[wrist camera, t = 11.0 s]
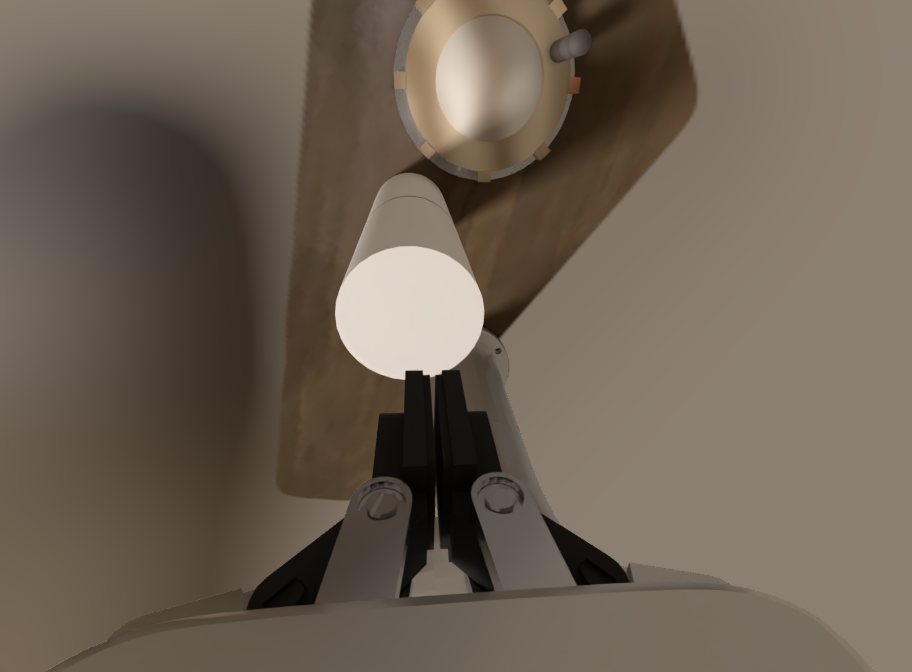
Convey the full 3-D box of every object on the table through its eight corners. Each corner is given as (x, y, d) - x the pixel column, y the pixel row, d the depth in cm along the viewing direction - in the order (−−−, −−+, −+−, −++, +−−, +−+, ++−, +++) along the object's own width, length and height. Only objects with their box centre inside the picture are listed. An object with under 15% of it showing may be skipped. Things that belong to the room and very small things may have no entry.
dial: (439, 200, 40) (444, 214, 35) (368, 20, 33) (359, 2, 28) (586, 137, 39) (617, 141, 33) (545, -65, 32) (574, -103, 26)
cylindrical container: (433, 163, 40) (462, 225, 18) (453, 233, 43) (498, 357, 22) (363, 185, 40) (309, 272, 18) (389, 253, 44) (368, 395, 22)
